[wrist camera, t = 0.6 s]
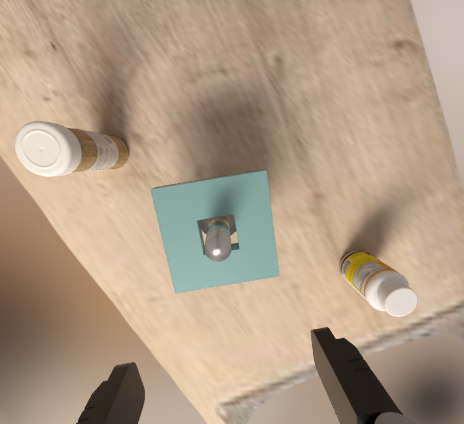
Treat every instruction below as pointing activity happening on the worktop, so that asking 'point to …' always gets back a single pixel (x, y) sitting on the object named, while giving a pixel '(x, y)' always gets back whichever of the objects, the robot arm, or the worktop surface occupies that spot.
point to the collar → (210, 206)
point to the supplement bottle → (378, 283)
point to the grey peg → (218, 236)
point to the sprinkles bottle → (67, 149)
